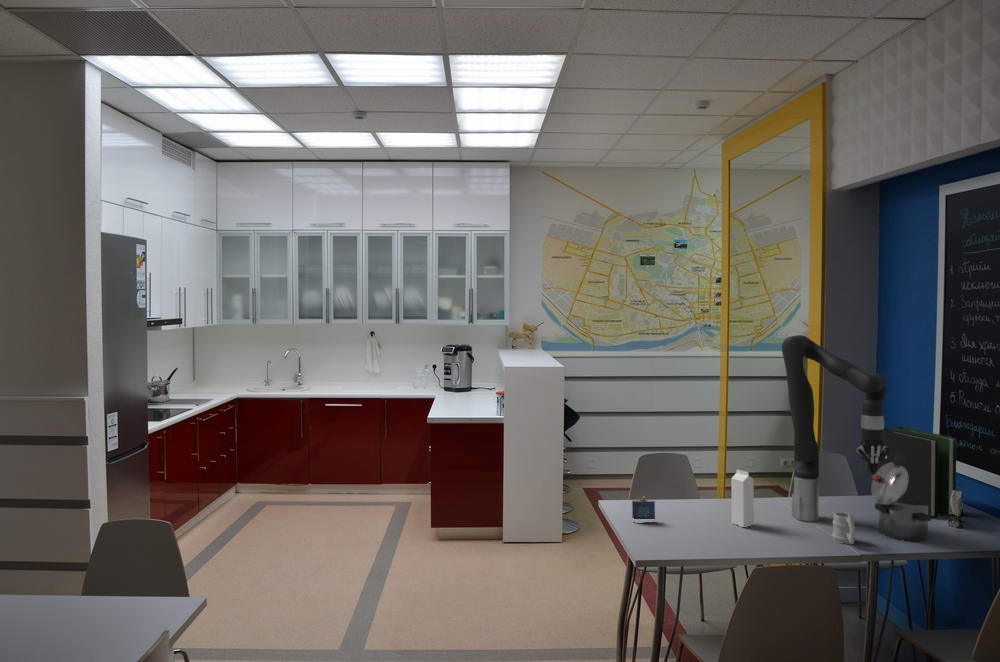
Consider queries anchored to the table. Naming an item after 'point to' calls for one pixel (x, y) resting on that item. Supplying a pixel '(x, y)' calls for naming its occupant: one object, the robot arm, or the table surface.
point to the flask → (643, 509)
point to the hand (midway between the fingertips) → (872, 472)
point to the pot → (904, 520)
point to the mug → (843, 528)
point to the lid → (890, 482)
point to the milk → (742, 499)
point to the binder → (925, 465)
